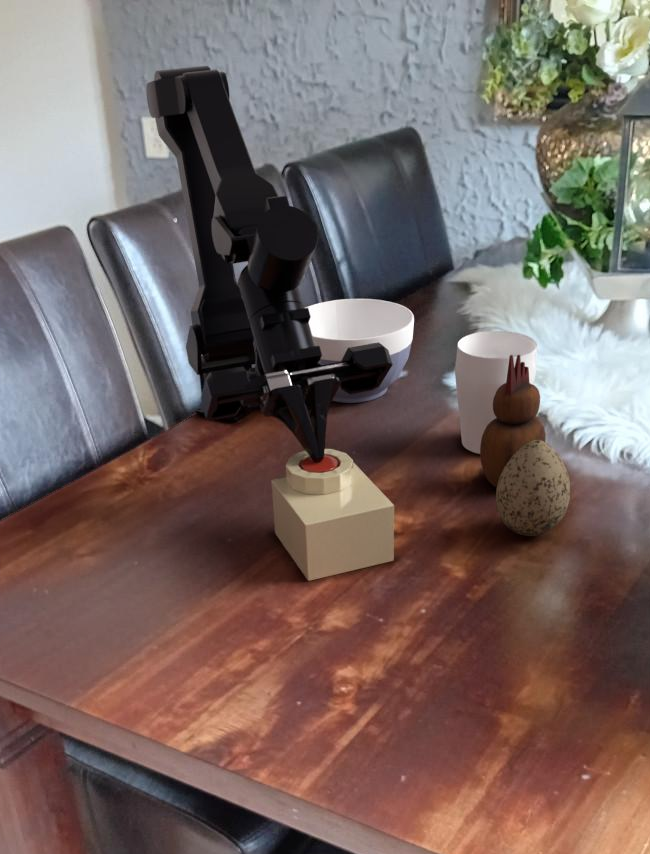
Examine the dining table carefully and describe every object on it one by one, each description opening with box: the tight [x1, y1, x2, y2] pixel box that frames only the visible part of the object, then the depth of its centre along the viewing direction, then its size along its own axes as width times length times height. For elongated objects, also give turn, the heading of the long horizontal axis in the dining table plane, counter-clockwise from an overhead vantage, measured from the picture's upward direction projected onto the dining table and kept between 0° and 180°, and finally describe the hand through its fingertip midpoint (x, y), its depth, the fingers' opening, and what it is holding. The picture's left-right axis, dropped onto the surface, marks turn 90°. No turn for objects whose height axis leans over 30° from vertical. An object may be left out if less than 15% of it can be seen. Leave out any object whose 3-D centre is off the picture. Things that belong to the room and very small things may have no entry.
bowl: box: [304, 298, 415, 404], centre depth 131 cm, size 16×16×10 cm
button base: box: [270, 448, 395, 582], centre depth 99 cm, size 11×9×8 cm
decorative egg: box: [495, 440, 571, 537], centre depth 99 cm, size 7×7×10 cm
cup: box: [454, 330, 538, 455], centre depth 115 cm, size 9×9×12 cm
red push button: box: [301, 455, 338, 473], centre depth 99 cm, size 4×4×2 cm
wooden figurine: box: [479, 355, 547, 488], centre depth 106 cm, size 7×6×15 cm
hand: (319, 460), depth 99 cm, fingers closed, pressing on red push button
